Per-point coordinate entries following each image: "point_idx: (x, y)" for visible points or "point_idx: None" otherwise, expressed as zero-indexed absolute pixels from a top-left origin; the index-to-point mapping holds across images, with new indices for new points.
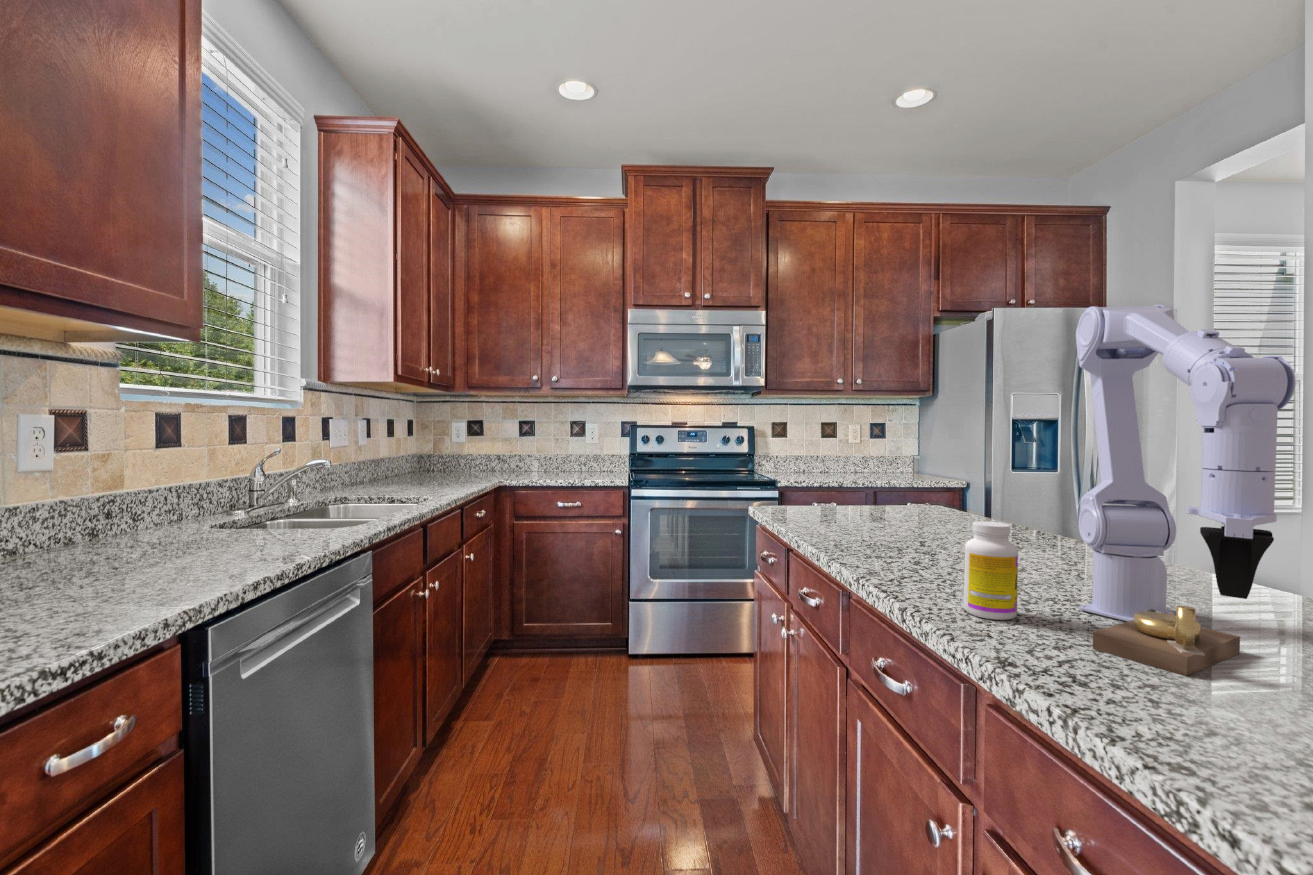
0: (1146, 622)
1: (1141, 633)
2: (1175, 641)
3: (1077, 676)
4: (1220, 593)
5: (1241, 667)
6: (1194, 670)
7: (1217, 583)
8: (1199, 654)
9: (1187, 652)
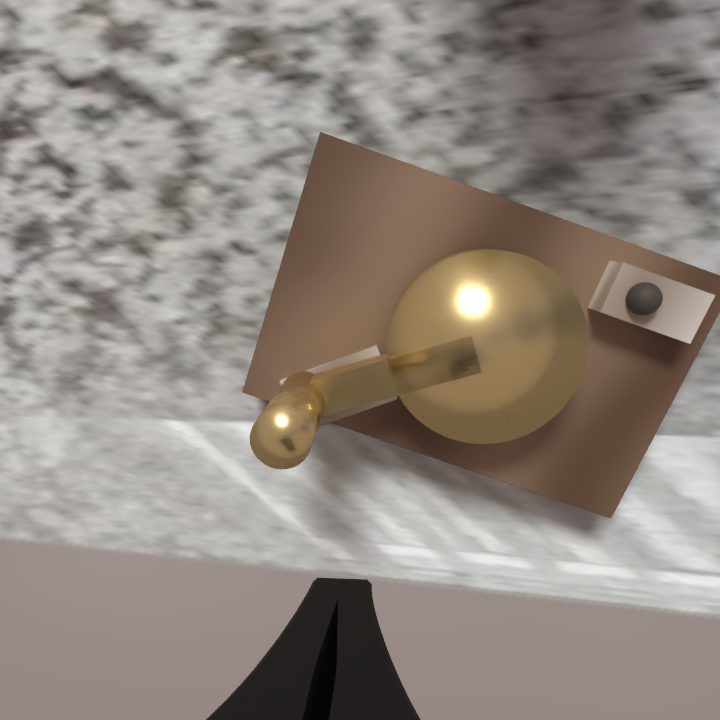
0: (405, 293)
1: None
2: (304, 371)
3: (22, 142)
4: (313, 581)
5: (446, 486)
6: None
7: (302, 603)
8: None
9: None
